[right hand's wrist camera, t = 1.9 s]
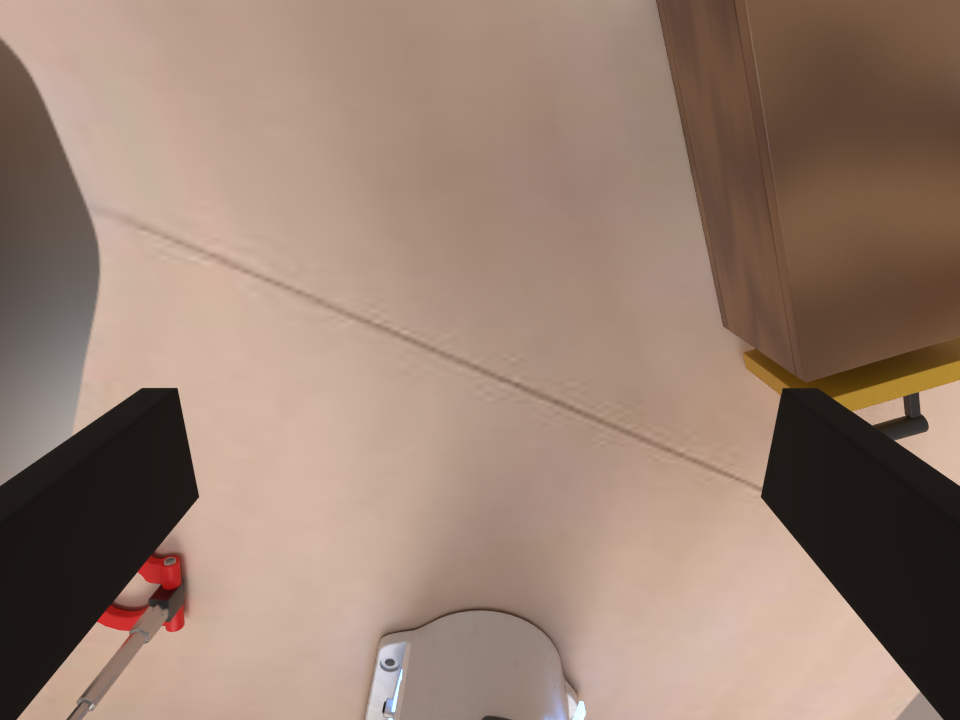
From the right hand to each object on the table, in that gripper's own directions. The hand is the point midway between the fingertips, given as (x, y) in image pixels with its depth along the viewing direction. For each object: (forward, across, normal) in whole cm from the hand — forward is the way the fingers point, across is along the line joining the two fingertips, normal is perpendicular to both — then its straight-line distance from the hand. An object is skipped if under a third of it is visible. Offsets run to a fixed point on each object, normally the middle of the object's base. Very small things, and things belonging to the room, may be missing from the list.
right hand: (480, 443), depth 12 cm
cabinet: (+27, +19, +7) cm, 33 cm away
